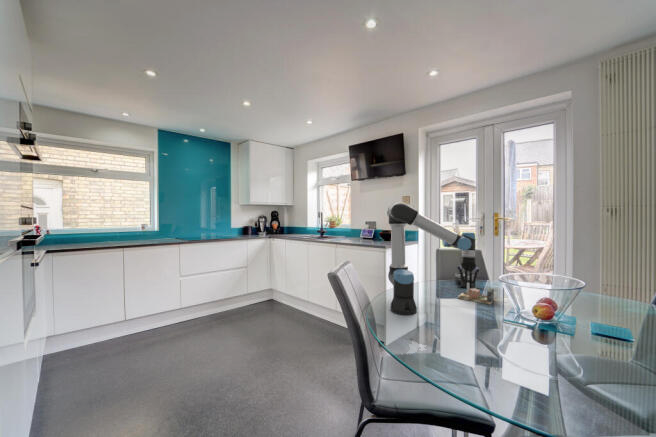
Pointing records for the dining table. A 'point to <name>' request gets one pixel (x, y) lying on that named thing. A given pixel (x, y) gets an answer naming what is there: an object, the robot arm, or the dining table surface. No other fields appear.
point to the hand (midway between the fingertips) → (468, 293)
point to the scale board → (481, 299)
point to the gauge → (474, 293)
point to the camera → (459, 280)
